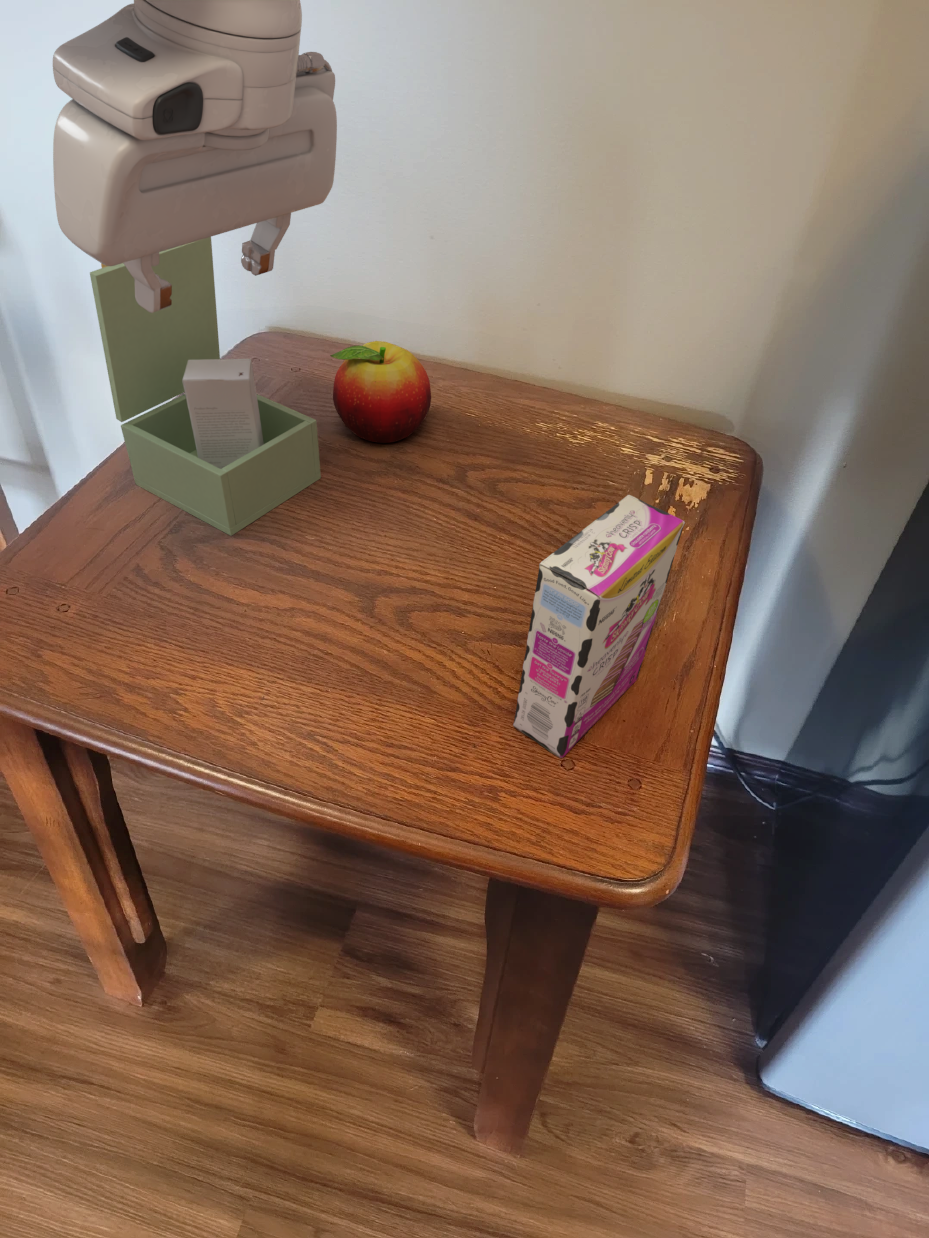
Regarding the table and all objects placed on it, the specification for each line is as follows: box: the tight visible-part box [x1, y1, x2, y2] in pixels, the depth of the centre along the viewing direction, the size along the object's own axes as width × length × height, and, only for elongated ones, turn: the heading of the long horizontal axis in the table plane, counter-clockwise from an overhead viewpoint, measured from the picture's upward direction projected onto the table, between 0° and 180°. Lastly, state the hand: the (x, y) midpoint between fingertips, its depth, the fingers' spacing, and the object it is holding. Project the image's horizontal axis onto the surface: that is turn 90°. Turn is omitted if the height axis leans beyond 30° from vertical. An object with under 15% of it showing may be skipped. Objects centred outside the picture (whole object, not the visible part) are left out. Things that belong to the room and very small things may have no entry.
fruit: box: [329, 340, 432, 444], centre depth 92 cm, size 11×11×10 cm
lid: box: [89, 236, 221, 423], centre depth 80 cm, size 14×13×5 cm
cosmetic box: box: [182, 358, 264, 469], centre depth 82 cm, size 6×4×12 cm
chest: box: [120, 393, 322, 537], centre depth 85 cm, size 14×13×7 cm
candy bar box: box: [512, 494, 686, 759], centre depth 61 cm, size 11×5×16 cm, turn 140°
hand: (207, 287), depth 59 cm, fingers open, 8 cm apart
